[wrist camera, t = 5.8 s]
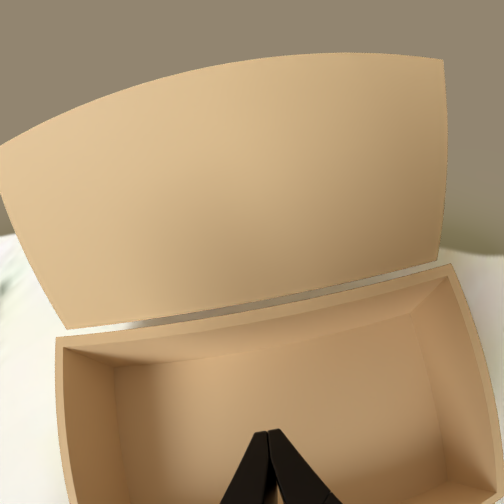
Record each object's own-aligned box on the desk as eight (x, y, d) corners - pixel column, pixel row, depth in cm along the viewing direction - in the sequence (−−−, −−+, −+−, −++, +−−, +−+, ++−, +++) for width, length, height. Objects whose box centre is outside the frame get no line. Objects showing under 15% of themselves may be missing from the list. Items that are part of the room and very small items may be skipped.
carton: (452, 491, 12) (505, 506, 6) (139, 546, 12) (92, 576, 6) (410, 305, 20) (451, 263, 14) (110, 361, 20) (55, 337, 14)
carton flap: (442, 59, 9) (436, 59, 9) (-12, 153, 9) (-6, 150, 9) (436, 260, 14) (432, 255, 14) (66, 329, 14) (69, 323, 14)
